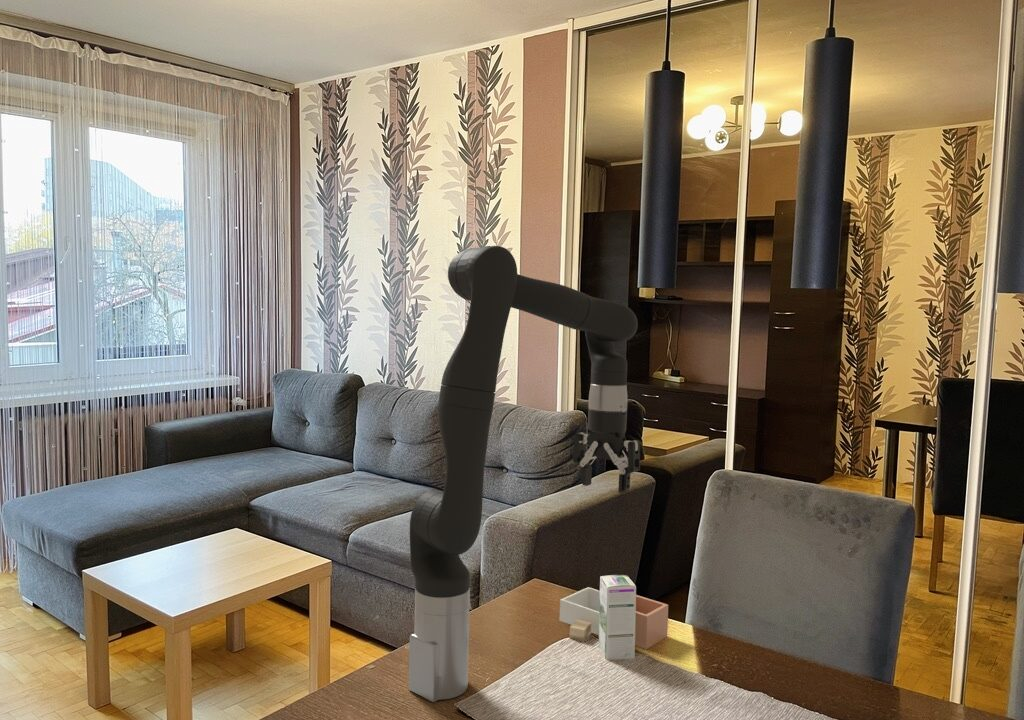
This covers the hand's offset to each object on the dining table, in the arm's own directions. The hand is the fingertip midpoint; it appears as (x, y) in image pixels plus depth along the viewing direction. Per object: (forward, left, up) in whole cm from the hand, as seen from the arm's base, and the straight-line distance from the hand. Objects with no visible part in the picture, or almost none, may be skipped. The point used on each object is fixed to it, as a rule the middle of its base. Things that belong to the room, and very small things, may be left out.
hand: (604, 488), depth 146 cm
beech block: (-4, +2, -30) cm, 30 cm away
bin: (+4, +4, -30) cm, 30 cm away
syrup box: (-5, -7, -30) cm, 31 cm away
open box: (+4, -7, -30) cm, 31 cm away
